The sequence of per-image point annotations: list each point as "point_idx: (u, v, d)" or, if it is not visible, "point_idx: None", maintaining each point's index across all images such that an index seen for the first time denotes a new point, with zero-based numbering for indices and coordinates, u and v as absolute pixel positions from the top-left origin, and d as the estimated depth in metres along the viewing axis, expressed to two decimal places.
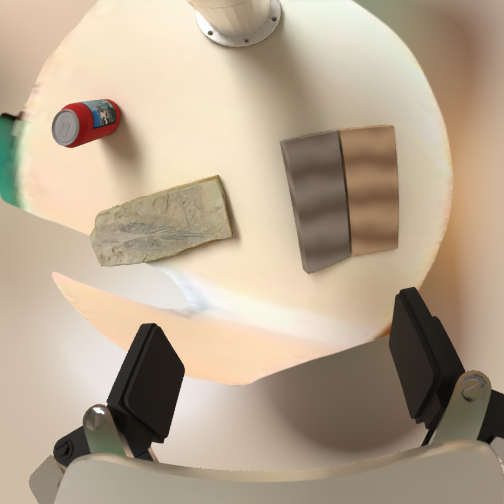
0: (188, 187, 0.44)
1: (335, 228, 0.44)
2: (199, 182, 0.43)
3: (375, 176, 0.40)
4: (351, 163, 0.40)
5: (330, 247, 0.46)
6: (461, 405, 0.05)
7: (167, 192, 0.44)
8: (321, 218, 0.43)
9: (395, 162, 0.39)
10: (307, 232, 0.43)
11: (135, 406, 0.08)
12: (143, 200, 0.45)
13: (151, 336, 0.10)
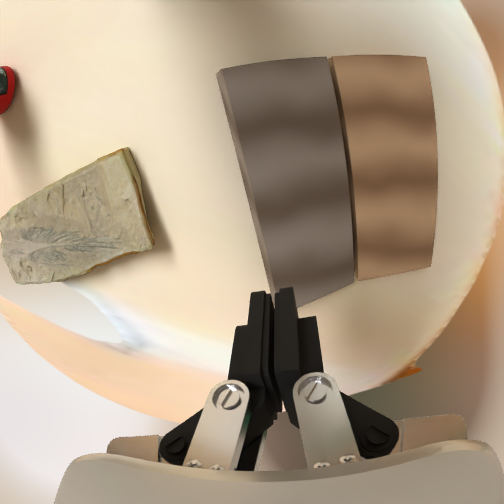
0: (86, 170, 0.24)
1: (329, 234, 0.25)
2: (98, 160, 0.23)
3: (400, 141, 0.21)
4: (357, 114, 0.20)
5: (320, 269, 0.26)
6: (311, 411, 0.06)
7: (62, 180, 0.24)
8: (302, 217, 0.23)
9: (432, 119, 0.19)
10: (275, 243, 0.23)
11: (269, 375, 0.08)
12: (37, 195, 0.25)
13: (267, 303, 0.10)
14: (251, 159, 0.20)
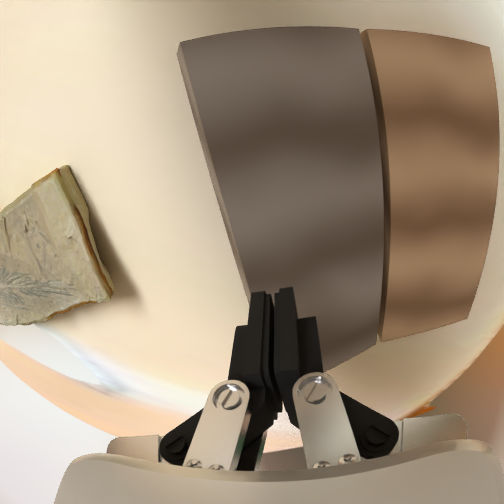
0: (23, 199, 0.16)
1: (352, 297, 0.17)
2: (33, 187, 0.15)
3: (457, 164, 0.13)
4: (404, 122, 0.12)
5: (336, 339, 0.18)
6: (311, 411, 0.06)
7: (2, 213, 0.17)
8: (317, 280, 0.15)
9: (496, 134, 0.11)
10: None
11: (269, 375, 0.08)
12: None
13: (267, 303, 0.10)
14: (235, 199, 0.12)
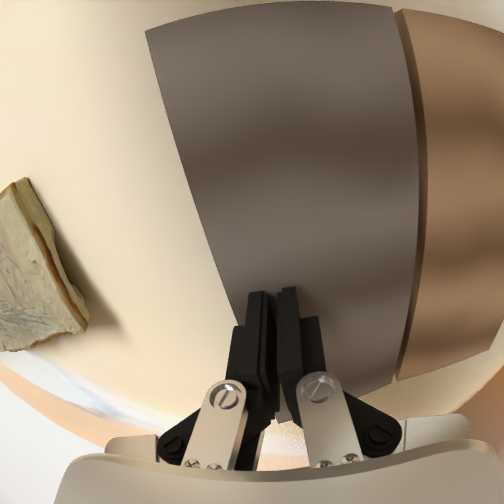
0: None
1: (367, 339, 0.14)
2: None
3: (501, 186, 0.09)
4: (448, 132, 0.08)
5: (345, 379, 0.15)
6: (314, 411, 0.06)
7: None
8: (324, 322, 0.12)
9: None
10: None
11: (266, 375, 0.08)
12: None
13: (264, 303, 0.10)
14: (219, 228, 0.09)
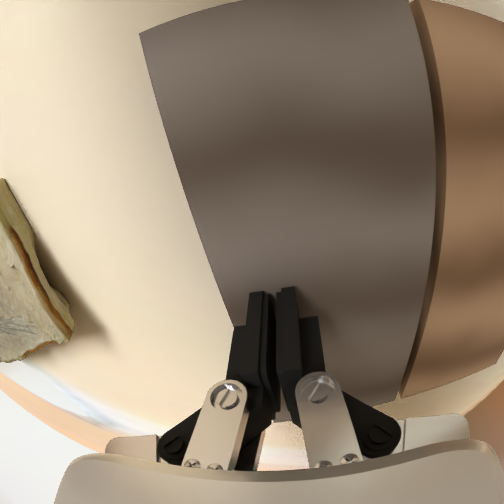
0: None
1: (369, 354, 0.13)
2: None
3: None
4: (468, 138, 0.07)
5: (344, 390, 0.14)
6: (314, 411, 0.06)
7: None
8: (322, 332, 0.12)
9: None
10: None
11: (267, 375, 0.08)
12: None
13: (265, 303, 0.10)
14: (211, 228, 0.09)
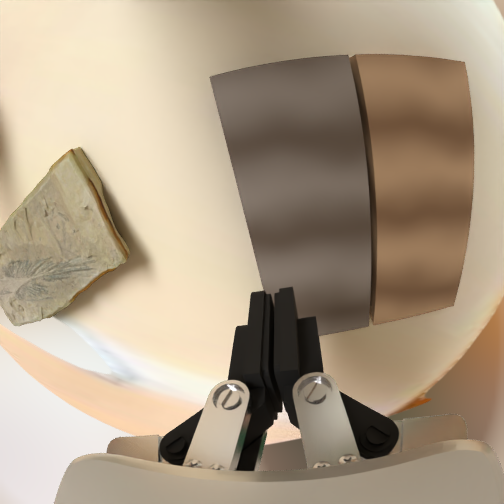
0: (42, 185, 0.19)
1: (340, 272, 0.21)
2: (50, 170, 0.18)
3: (434, 165, 0.16)
4: (386, 131, 0.15)
5: (326, 307, 0.22)
6: (311, 411, 0.06)
7: (23, 203, 0.20)
8: (306, 249, 0.20)
9: (471, 138, 0.14)
10: (271, 272, 0.21)
11: (269, 375, 0.08)
12: (5, 225, 0.21)
13: (267, 303, 0.10)
14: (244, 180, 0.18)
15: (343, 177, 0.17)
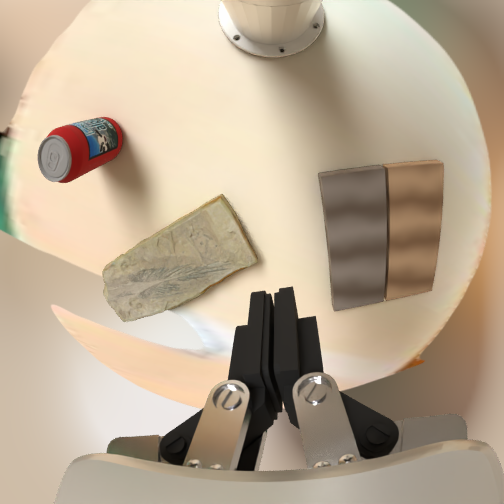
0: (191, 217, 0.37)
1: (370, 271, 0.39)
2: (202, 208, 0.36)
3: (419, 218, 0.34)
4: (397, 204, 0.34)
5: (362, 290, 0.41)
6: (311, 411, 0.06)
7: (169, 228, 0.38)
8: (355, 260, 0.38)
9: (441, 203, 0.33)
10: (337, 272, 0.40)
11: (270, 375, 0.08)
12: (145, 243, 0.39)
13: (267, 303, 0.10)
14: (331, 227, 0.36)
15: (375, 226, 0.36)
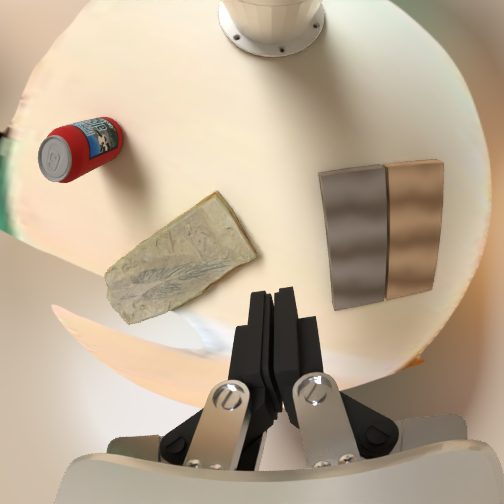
0: (188, 215, 0.37)
1: (370, 271, 0.39)
2: (198, 205, 0.36)
3: (419, 218, 0.34)
4: (397, 204, 0.34)
5: (362, 289, 0.41)
6: (311, 411, 0.06)
7: (167, 228, 0.38)
8: (356, 259, 0.38)
9: (441, 202, 0.33)
10: (337, 271, 0.40)
11: (269, 375, 0.08)
12: (144, 244, 0.39)
13: (267, 303, 0.10)
14: (331, 227, 0.36)
15: (376, 226, 0.36)
